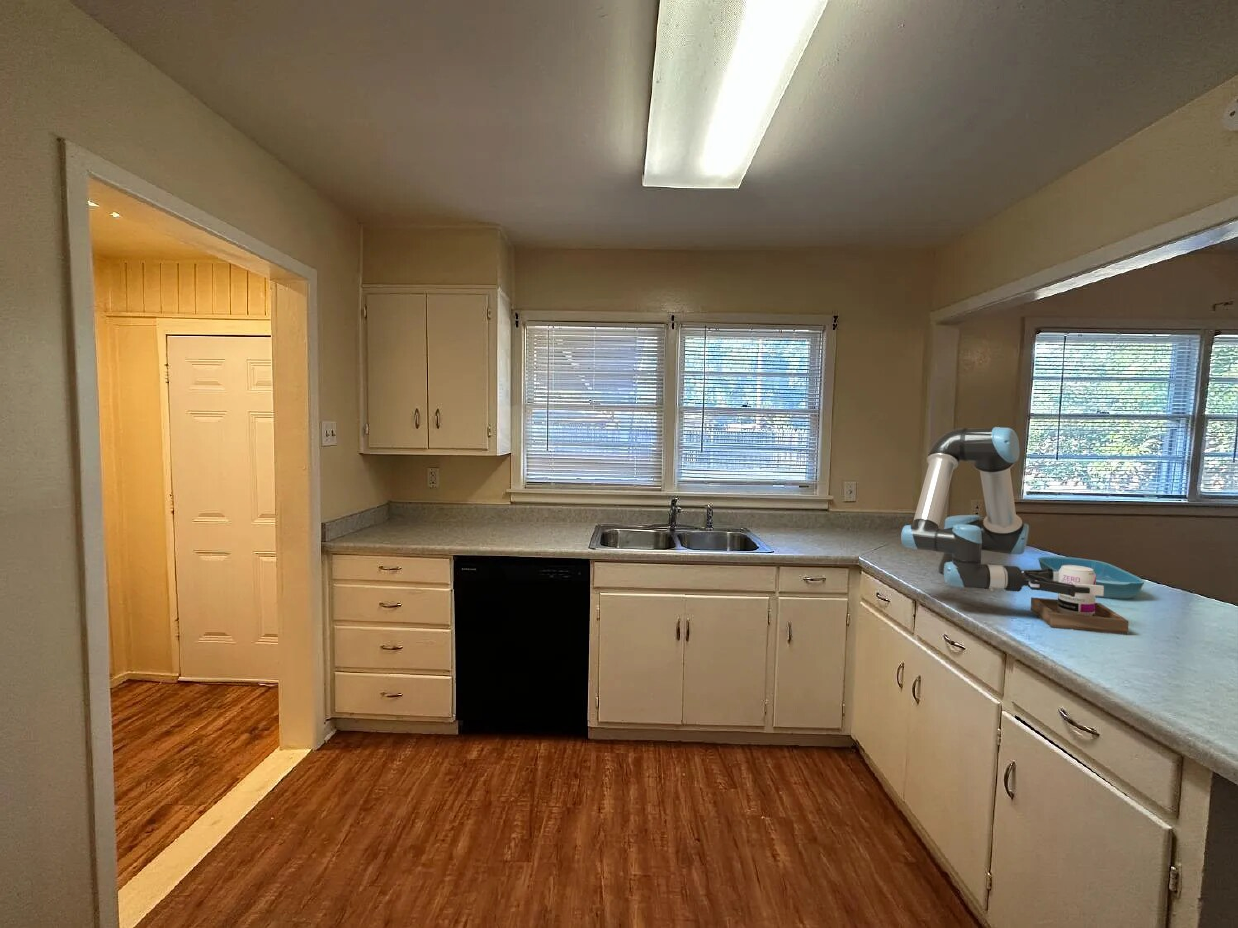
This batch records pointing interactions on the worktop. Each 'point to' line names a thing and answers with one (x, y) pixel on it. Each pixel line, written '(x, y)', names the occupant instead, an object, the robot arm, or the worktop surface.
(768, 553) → the worktop surface
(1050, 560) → the casserole dish
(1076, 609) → the supplement can
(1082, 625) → the walnut tray
